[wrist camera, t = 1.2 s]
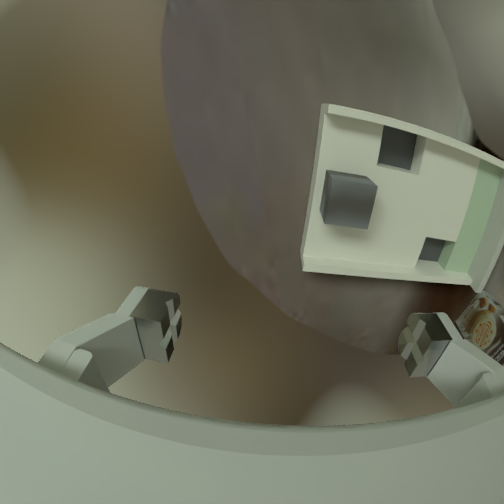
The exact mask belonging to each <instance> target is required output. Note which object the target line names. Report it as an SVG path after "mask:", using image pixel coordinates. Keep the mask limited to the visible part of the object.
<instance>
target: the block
mask: <svg viewBox="0 0 504 504" xmlns="http://www.w3.org/2000/svg"><path fill="white" fill-rule="evenodd" d="M377 189H378V186H377V185H376V184H375V183H374V182H373V181H371V180H370V179H369V178H368V177H367V176H362V175H357V174H351V173H345V172H339V171H333V170H326V173H325V179H324V186H323V192H322V198H321V203H320V209H319V210H320V213H321V216H322V218H323V221H324V224H329V225H337V226H345V227H353V228H360V229H368V226H369V222H370V218H371V214H372V210H373V206H374V202H375V197H376V193H377Z"/></svg>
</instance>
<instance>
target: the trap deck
mask: <svg viewBox="0 0 504 504" xmlns="http://www.w3.org/2000/svg"><path fill="white" fill-rule="evenodd" d="M326 170H333V171H339V172H345V173H351V174H357V175H362V176H367V177H368V178H369V179H370V180H371V181H373V182H374V183H375V184H376V185H377V186H378V189H377V193H376V197H375V202H374V206H373V210H372V214H371V218H370V222H369V226H368V229H360V228H353V227H345V226H337V225H329V224H324V221H323V218H322V216H321V213H320V210H319V209H320V203H321V198H322V192H323V186H324V179H325V173H326ZM503 245H504V162H503V161H501V160H500V159H498V158H496V157H494V156H492V155H489V154H487V153H485V152H483V151H481V150H479V149H477V148H474V147H472V146H470V145H468V144H465V143H463V142H460V141H458V140H456V139H453V138H451V137H448V136H445V135H443V134H440V133H437V132H435V131H432V130H429V129H426V128H423V127H420V126H417V125H414V124H411V123H407V122H404V121H401V120H397V119H394V118H390V117H386V116H383V115H379V114H375V113H371V112H367V111H362V110H358V109H353V108H348V107H343V106H338V105H333V104H321V111H320V120H319V128H318V137H317V144H316V152H315V160H314V167H313V174H312V181H311V188H310V194H309V201H308V207H307V213H306V219H305V225H304V231H303V237H302V243H301V248H300V254H301V262H302V270H303V271H308V272H319V273H329V274H340V275H351V276H362V277H374V278H385V279H397V280H409V281H422V282H435V283H448V284H462V285H470V286H471V287H472V288H473V290H474V291H475V292H476V293H481V292H482V290H483V288H484V286H485V284H486V282H487V280H488V278H489V276H490V274H491V272H492V270H493V268H494V266H495V264H496V261H497V259H498V257H499V254H500V252H501V250H502V247H503Z"/></svg>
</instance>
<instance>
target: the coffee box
mask: <svg viewBox="0 0 504 504" xmlns="http://www.w3.org/2000/svg"><path fill="white" fill-rule="evenodd" d="M456 324H457V326H458V327H459V329H460V331H461V333H462V335H463V337H464V339H466V340H467V341H469V342H470V343H472V344H473V345H474V346H476V347H477V348H479V349H480V350H482V351H483V352H484V353H486V354H487V355H488V356H490V357H491V358H493V359H494V360H495V361H497V362H498V363H500V364H501V365H502V366H504V309H503V308H502V306H501V305H500V304H499V302H498V301H497V299H496V298H495V297H494V295H493V294H491V293H489V292H486V291H484V290H482V292H481V293H477V294H476V296H475V297H474V298H473V300H472V301H471V302H470V304H469V305H468V306H467V308H466V309H465V310H464V311H463V313H462V314H461V315H460V316H459V318H458V319H457V320H456Z"/></svg>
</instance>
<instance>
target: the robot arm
mask: <svg viewBox="0 0 504 504" xmlns="http://www.w3.org/2000/svg"><path fill="white" fill-rule="evenodd" d="M179 305H180V296H179V294H178V293H175V292H170V291H164V290H158V289H153V288H147V287H141V286H137V287H135V288H134V289H133V290H132V292H131V293H130V294H129V295H128V297H127V298H126V300H125V301H124V302H123V304H122V305H121V306H120V308H119V309H118V311H117V312H116V313H115V314H114V313H110V314H108V315H106V316H104V317H102V318H99V319H97V320H95V321H93V322H91V323H89V324H86V325H84V326H82V327H80V328H78V329H76V330H74V331H71V332H69V333H67V334H65V335H63V336H61V337H58V338H56V339H55V341H54V342H53V343H52V344H51V346H50V347H49V348H48V350H47V351H46V353H45V354H44V355H43V356H42V358H41V359H40V361H39V362H38V363H37V362H35V361H33V360H31V359H29V358H27V357H25V356H23V355H21V354H19V353H18V352H16V351H14V350H12V349H10V348H9V347H7V346H5V345H4V344H2V343H0V504H504V366H502V365H501V364H500V363H498V362H497V361H495V360H494V359H493V358H491V357H490V356H488V355H487V354H486V353H484V352H483V351H482V350H480V349H479V348H477V347H476V346H474V345H473V344H472V343H470V342H469V341H467V340H466V339H464V340H463V339H462V337H461V335H460V334H459V332H458V331H457V329H456V328H455V326H454V325H453V323H452V322H451V320H450V319H449V317H448V316H447V314H445V313H444V312H443V313H412V314H411V315H410V316H409V318H408V320H407V325H408V327H406V328H405V329H404V330H403V331H402V333H401V335H400V337H399V342H398V348H399V352H400V355H401V356H402V357H403V358H404V359H406V361H405V363H404V365H405V368H406V370H407V373H408V375H409V377H424V376H427V378H428V379H429V380H430V381H431V382H432V383H433V384H434V385H435V386H436V387H437V388H438V389H439V390H440V392H441V393H442V394H443V395H444V396H445V397H446V398H447V399H448V400H449V401H450V402H451V403H452V404H453V406H454V407H455V408H454V409H452V410H447V411H443V412H439V413H434V414H429V415H424V416H420V417H413V418H407V419H402V420H394V421H386V422H378V423H369V424H355V425H338V426H289V425H270V424H257V423H248V422H238V421H230V420H222V419H216V418H210V417H204V416H198V415H192V414H188V413H182V412H177V411H173V410H169V409H165V408H160V407H156V406H152V405H149V404H145V403H141V402H137V401H134V400H131V399H128V398H124V397H121V396H117V395H115V394H112V393H110V391H109V389H108V387H109V386H110V385H112V384H113V383H114V382H116V381H117V380H119V379H120V378H121V377H123V376H124V375H125V374H127V373H128V372H129V371H131V370H132V369H133V368H135V367H136V366H137V365H139V364H140V363H141V362H143V361H144V359H149V360H154V361H159V362H164V363H168V362H169V360H170V357H171V355H172V352H173V350H174V346H173V342H175V341H176V340H178V338H179V335H180V331H181V326H182V315H181V313H180V311H179V310H178V307H179Z"/></svg>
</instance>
